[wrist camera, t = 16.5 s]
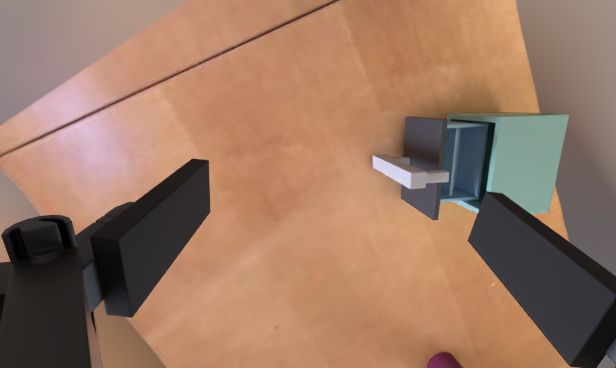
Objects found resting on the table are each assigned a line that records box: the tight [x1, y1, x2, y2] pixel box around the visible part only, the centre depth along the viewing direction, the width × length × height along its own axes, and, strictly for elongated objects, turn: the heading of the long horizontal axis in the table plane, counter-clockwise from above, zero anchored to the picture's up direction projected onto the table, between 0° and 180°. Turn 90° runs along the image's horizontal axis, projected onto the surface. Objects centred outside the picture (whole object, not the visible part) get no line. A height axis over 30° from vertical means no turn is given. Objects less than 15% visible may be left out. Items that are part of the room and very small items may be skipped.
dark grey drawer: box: [373, 117, 489, 220], centre depth 34 cm, size 12×11×10 cm
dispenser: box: [447, 112, 569, 214], centre depth 36 cm, size 8×11×9 cm
